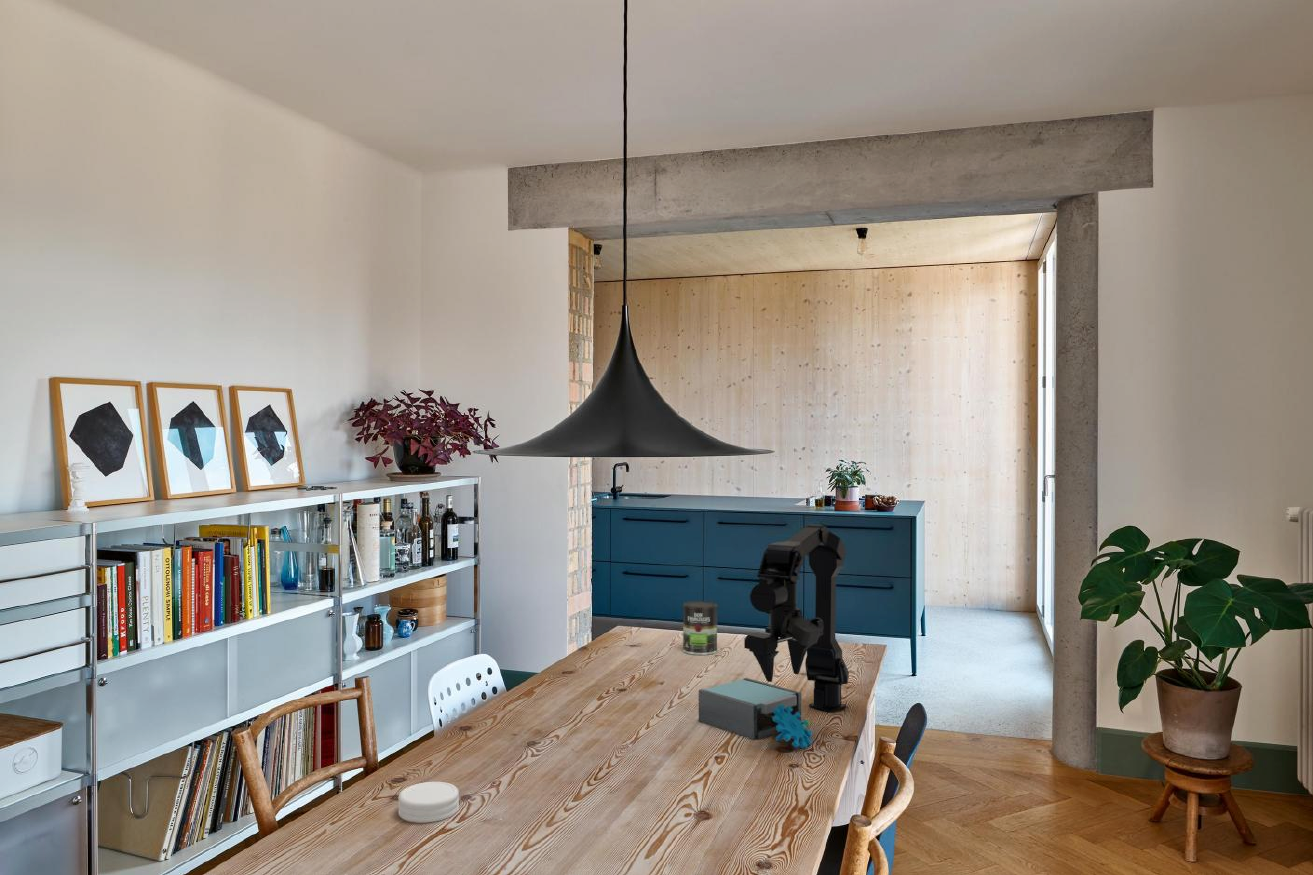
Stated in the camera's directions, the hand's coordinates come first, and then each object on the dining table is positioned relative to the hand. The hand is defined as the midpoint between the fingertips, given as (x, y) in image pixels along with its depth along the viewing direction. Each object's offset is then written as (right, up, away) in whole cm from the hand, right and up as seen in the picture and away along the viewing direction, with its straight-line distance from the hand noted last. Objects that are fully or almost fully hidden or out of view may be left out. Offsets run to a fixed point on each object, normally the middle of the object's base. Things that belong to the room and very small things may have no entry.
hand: (783, 677), depth 193 cm
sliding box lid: (-6, -8, +10) cm, 14 cm away
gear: (+2, -13, -3) cm, 14 cm away
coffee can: (-14, -13, +78) cm, 81 cm away
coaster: (-66, -13, -38) cm, 77 cm away
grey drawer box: (-6, -13, +11) cm, 18 cm away
